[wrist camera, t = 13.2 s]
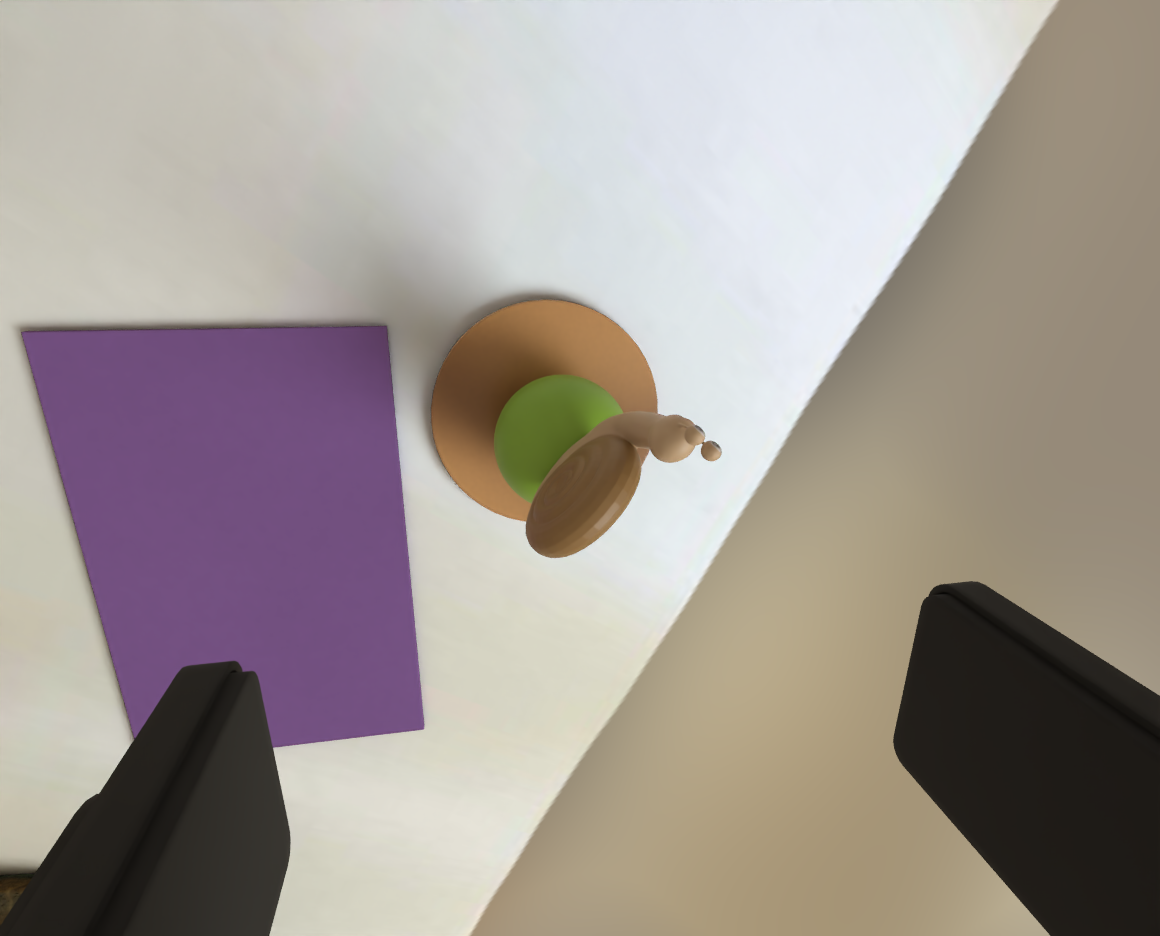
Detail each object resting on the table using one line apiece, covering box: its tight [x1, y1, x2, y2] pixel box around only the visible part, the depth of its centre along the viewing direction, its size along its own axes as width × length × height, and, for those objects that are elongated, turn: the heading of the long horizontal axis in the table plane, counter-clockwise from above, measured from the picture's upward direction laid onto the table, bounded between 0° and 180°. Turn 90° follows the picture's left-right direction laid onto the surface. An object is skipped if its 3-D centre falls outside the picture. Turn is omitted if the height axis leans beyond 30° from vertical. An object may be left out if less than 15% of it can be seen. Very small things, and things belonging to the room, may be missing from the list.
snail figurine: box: [494, 375, 722, 558], centre depth 22 cm, size 5×6×12 cm
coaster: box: [431, 299, 658, 521], centre depth 28 cm, size 10×10×1 cm
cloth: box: [21, 326, 424, 748], centre depth 27 cm, size 20×13×1 cm, turn 0°
